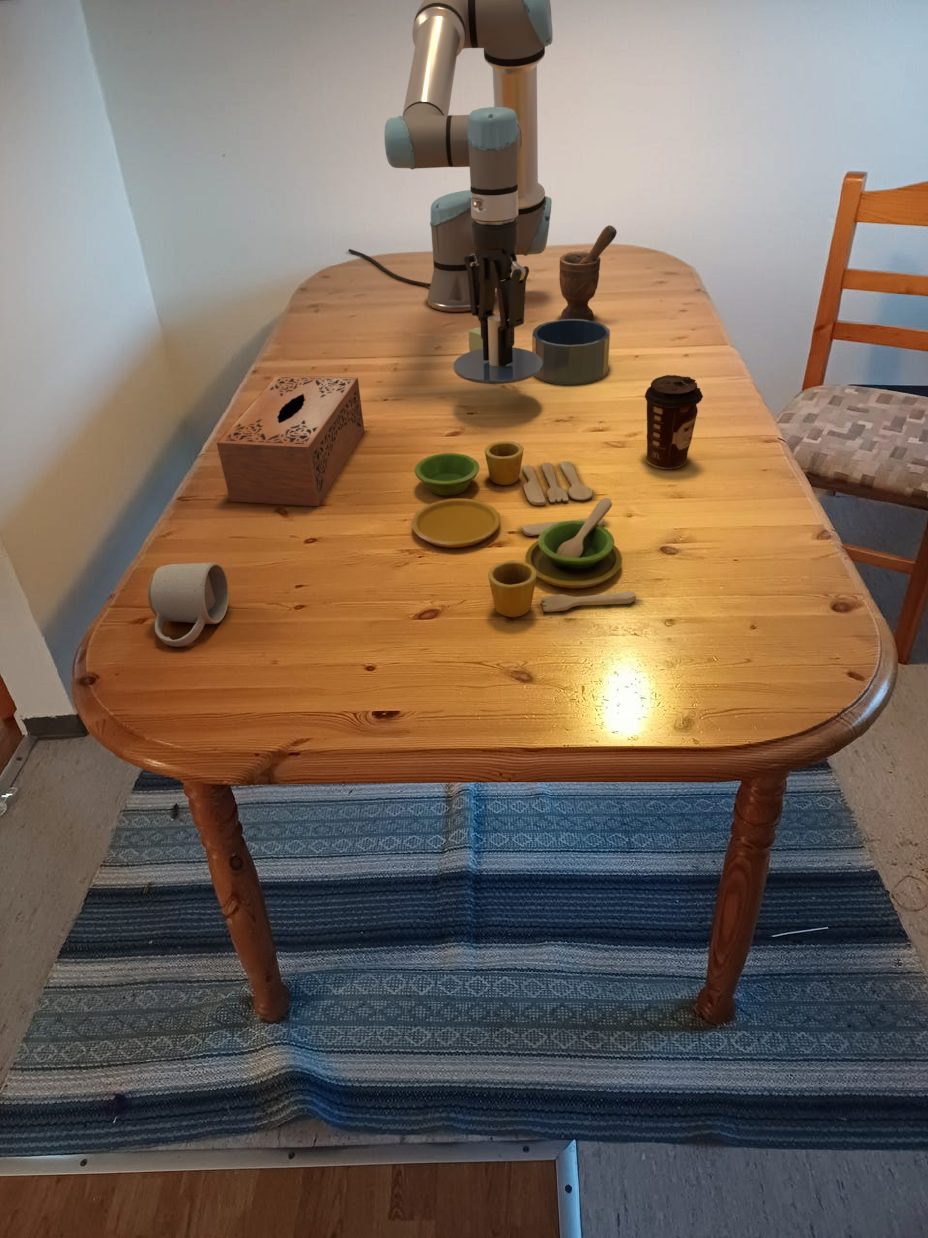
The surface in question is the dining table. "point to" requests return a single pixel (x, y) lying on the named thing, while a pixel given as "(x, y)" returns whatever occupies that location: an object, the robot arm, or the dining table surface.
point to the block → (475, 339)
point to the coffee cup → (670, 420)
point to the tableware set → (561, 549)
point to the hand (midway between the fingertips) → (497, 360)
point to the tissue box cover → (292, 440)
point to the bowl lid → (497, 362)
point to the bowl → (572, 351)
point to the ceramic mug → (188, 597)
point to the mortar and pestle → (582, 277)
